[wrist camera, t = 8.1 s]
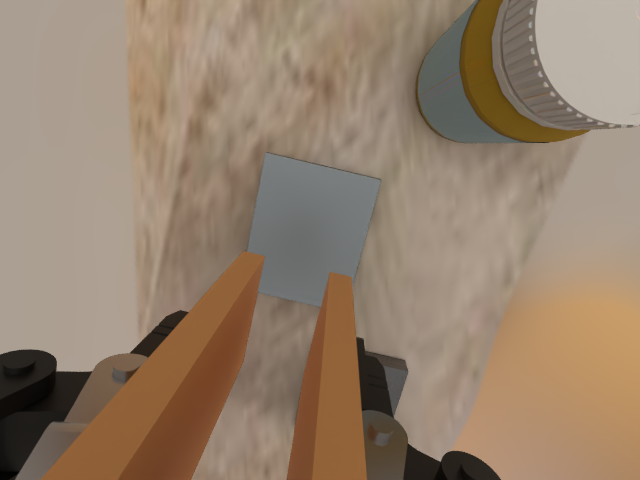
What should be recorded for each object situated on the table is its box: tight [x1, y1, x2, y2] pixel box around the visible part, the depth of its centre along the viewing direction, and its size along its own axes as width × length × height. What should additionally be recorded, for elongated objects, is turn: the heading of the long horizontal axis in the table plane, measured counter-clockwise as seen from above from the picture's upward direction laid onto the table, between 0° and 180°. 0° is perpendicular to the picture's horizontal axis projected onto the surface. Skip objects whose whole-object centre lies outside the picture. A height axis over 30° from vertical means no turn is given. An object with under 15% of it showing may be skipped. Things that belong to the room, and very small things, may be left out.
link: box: [40, 251, 367, 480], centre depth 9 cm, size 4×4×11 cm
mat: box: [247, 153, 381, 307], centre depth 27 cm, size 10×8×1 cm
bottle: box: [416, 0, 640, 143], centre depth 18 cm, size 7×7×15 cm
